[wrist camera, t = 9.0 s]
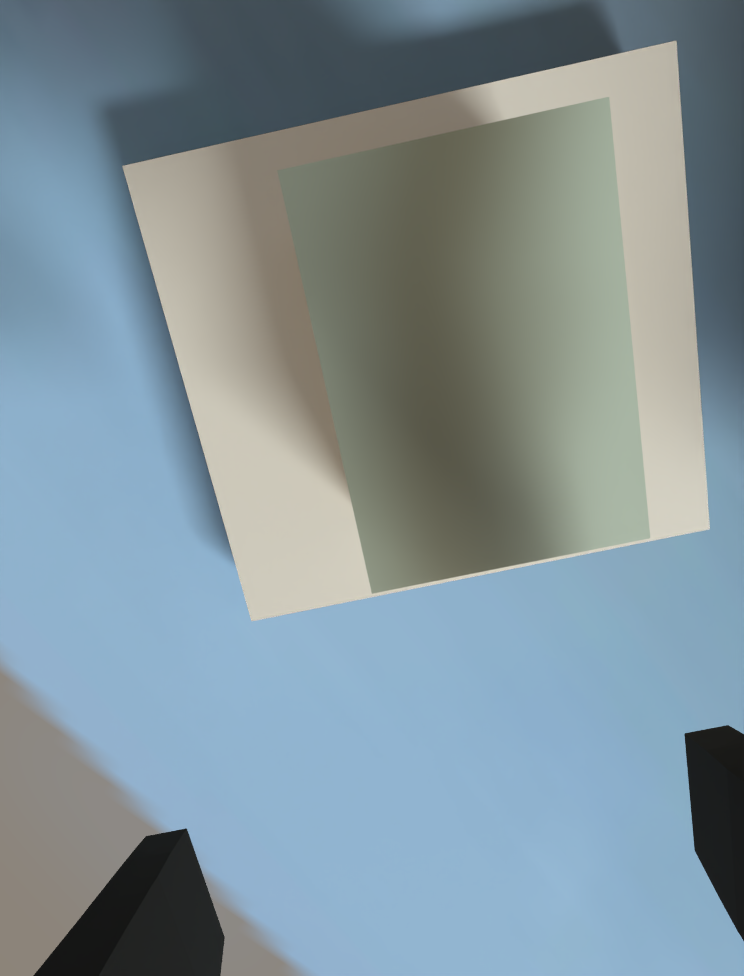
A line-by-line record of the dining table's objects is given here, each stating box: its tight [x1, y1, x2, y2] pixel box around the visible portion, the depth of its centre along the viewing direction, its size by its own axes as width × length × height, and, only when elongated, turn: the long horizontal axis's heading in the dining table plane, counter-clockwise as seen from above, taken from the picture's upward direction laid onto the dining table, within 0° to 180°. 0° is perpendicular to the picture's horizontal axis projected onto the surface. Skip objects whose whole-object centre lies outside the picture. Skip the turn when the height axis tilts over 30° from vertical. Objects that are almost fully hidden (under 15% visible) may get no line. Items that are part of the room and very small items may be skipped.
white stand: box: [122, 41, 710, 621], centre depth 15 cm, size 12×11×2 cm
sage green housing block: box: [277, 97, 650, 594], centre depth 12 cm, size 5×7×4 cm
